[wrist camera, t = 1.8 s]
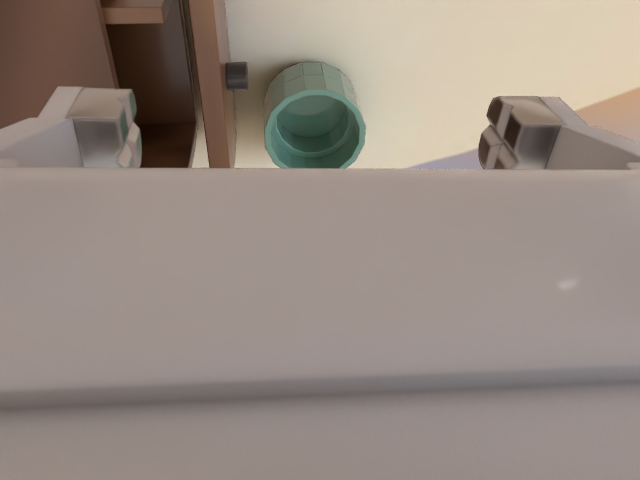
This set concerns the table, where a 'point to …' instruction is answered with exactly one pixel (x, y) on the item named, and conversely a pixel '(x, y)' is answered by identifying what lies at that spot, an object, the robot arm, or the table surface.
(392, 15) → the table surface
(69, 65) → the cabinet
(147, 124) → the drawer
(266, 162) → the table surface
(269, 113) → the cylindrical container
